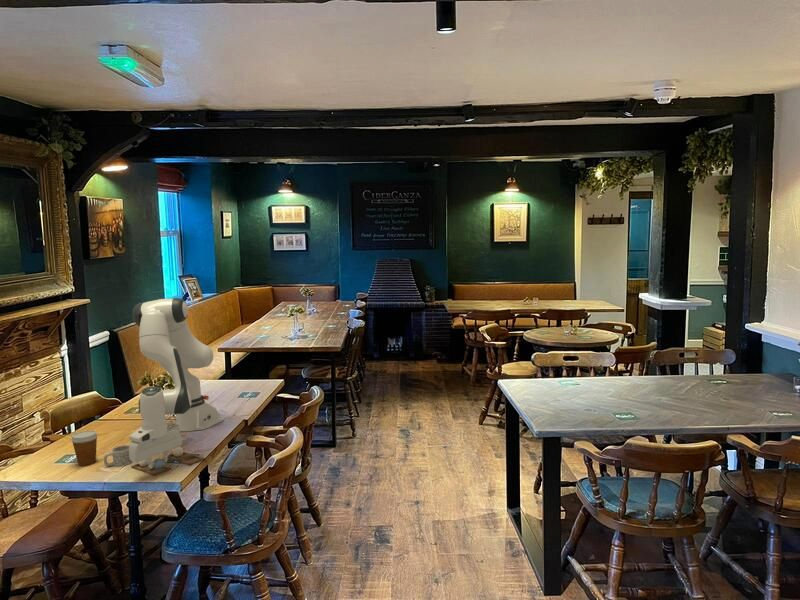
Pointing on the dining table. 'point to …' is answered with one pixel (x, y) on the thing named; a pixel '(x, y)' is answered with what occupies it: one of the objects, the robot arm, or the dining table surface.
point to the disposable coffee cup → (85, 447)
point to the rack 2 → (187, 458)
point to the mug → (119, 456)
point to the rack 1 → (151, 469)
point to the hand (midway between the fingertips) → (158, 465)
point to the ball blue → (158, 463)
